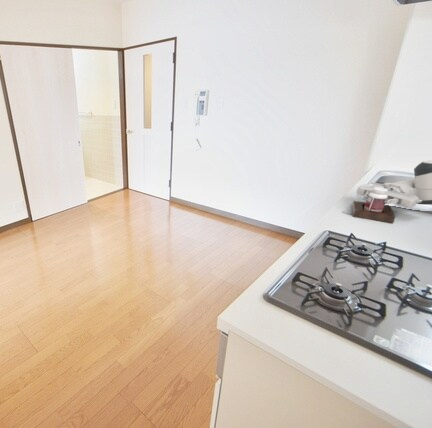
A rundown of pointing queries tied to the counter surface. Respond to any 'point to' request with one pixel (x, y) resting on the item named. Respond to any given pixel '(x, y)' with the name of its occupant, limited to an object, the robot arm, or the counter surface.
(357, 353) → the counter surface
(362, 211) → the holder
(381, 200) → the pill bottle
